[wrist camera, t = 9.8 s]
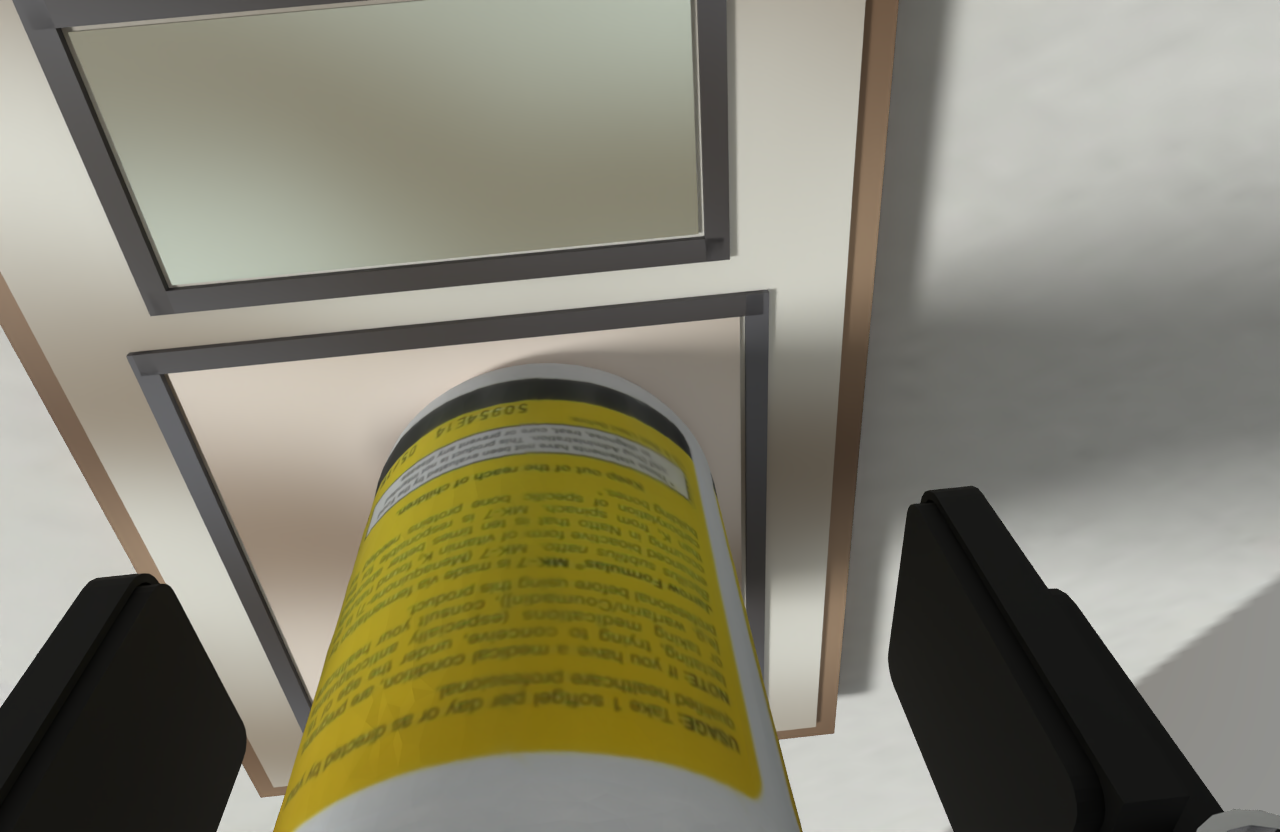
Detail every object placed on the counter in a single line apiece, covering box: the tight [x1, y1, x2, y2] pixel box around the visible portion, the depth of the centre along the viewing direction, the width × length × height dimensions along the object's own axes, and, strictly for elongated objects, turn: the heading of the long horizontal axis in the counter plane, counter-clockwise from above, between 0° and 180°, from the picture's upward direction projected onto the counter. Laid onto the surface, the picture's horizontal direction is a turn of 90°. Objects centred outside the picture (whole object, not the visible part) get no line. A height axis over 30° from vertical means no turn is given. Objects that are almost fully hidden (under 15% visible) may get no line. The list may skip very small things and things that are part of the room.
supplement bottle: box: [273, 363, 802, 832], centre depth 9 cm, size 5×5×8 cm
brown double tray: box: [0, 0, 899, 798], centre depth 12 cm, size 15×11×2 cm
